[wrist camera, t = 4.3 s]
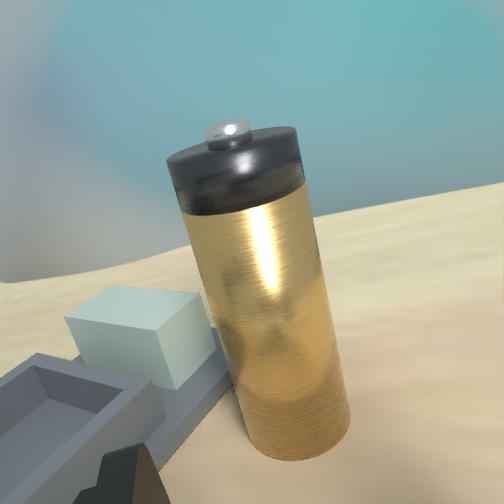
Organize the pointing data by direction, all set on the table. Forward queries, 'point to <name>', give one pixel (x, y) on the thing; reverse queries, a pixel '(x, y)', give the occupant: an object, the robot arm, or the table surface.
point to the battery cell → (265, 284)
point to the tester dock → (108, 392)
